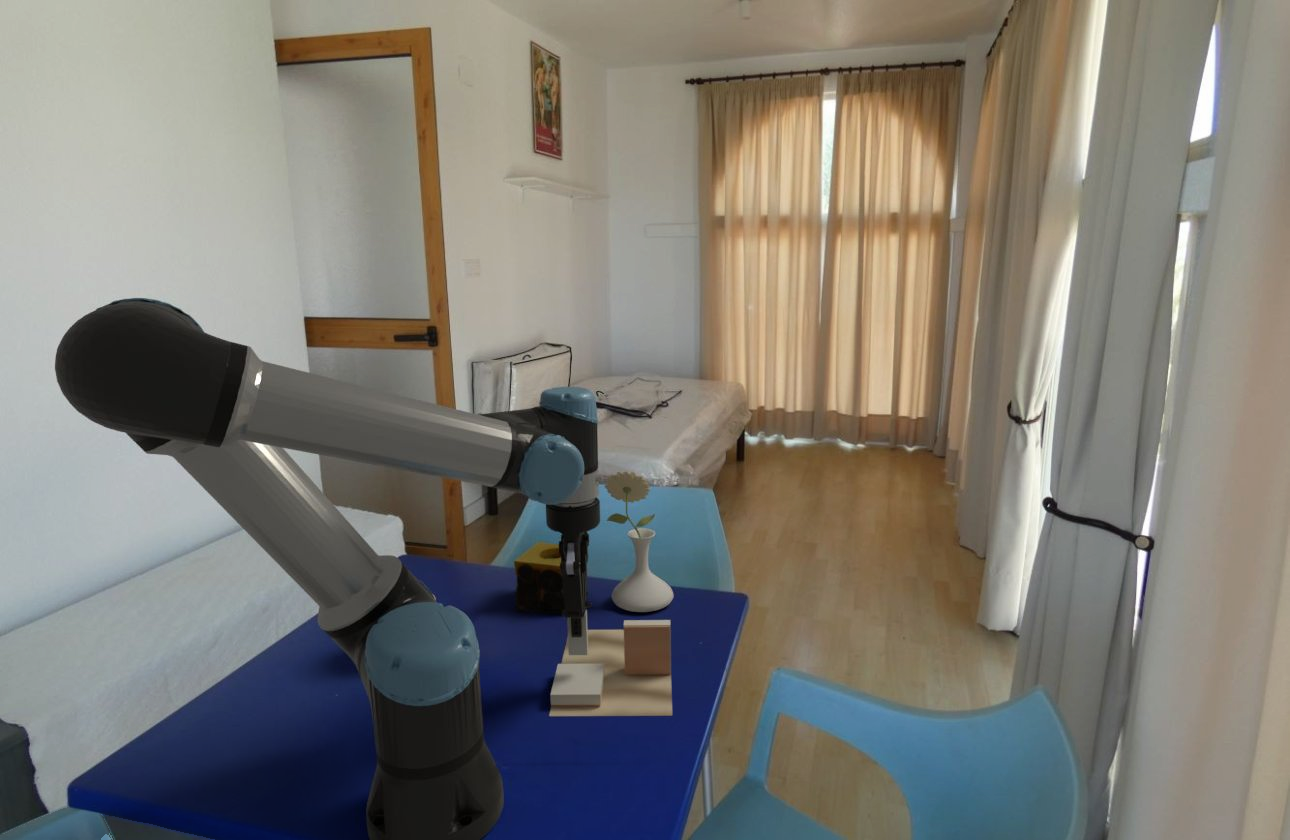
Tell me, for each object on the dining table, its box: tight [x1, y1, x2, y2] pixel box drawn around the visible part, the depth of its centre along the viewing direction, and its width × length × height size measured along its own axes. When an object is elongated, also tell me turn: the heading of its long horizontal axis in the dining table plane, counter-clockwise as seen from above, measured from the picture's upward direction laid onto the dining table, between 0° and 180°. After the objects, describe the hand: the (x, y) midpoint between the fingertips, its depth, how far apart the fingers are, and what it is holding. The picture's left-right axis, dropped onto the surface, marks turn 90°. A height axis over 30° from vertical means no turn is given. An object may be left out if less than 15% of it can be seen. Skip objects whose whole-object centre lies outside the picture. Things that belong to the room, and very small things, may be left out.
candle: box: [513, 541, 565, 616], centre depth 134 cm, size 10×10×10 cm
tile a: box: [549, 663, 605, 707], centre depth 106 cm, size 2×7×8 cm
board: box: [548, 629, 673, 717], centre depth 113 cm, size 24×17×1 cm
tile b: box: [623, 619, 672, 675], centre depth 111 cm, size 2×7×8 cm, turn 89°
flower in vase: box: [604, 470, 674, 613], centre depth 132 cm, size 13×11×25 cm
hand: (578, 652), depth 107 cm, fingers closed
